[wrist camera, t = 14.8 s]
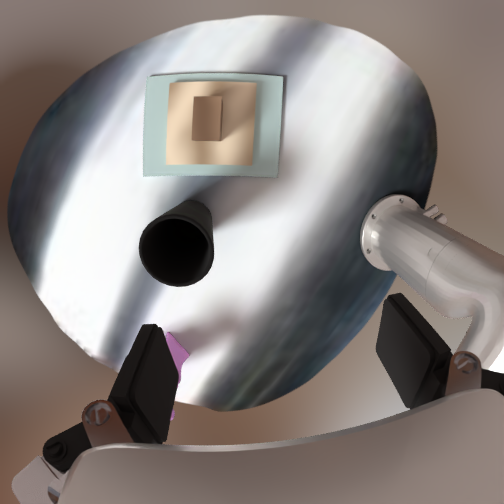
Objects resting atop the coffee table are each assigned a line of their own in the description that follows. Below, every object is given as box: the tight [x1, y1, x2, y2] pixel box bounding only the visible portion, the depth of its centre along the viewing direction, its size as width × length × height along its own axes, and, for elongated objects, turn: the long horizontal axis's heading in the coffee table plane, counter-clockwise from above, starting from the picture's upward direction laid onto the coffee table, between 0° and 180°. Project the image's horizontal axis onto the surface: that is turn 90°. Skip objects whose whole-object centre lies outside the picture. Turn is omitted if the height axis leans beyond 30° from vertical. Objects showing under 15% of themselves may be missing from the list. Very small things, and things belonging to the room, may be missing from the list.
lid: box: [166, 81, 257, 166], centre depth 29 cm, size 11×11×6 cm
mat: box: [143, 73, 283, 178], centre depth 32 cm, size 18×14×1 cm
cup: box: [139, 200, 214, 287], centre depth 32 cm, size 8×8×12 cm
